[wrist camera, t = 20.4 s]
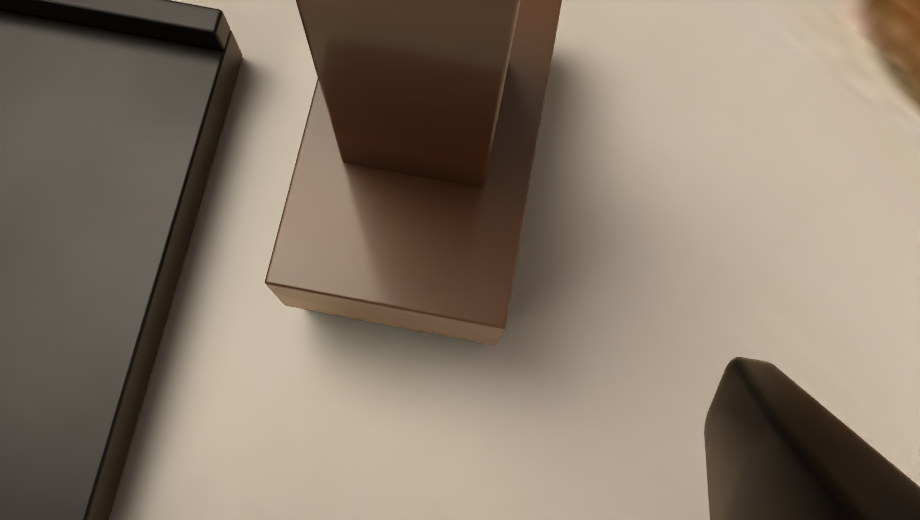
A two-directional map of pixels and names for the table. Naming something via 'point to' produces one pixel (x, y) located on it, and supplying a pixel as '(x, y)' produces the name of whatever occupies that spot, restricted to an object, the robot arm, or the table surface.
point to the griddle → (94, 227)
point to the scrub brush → (415, 161)
